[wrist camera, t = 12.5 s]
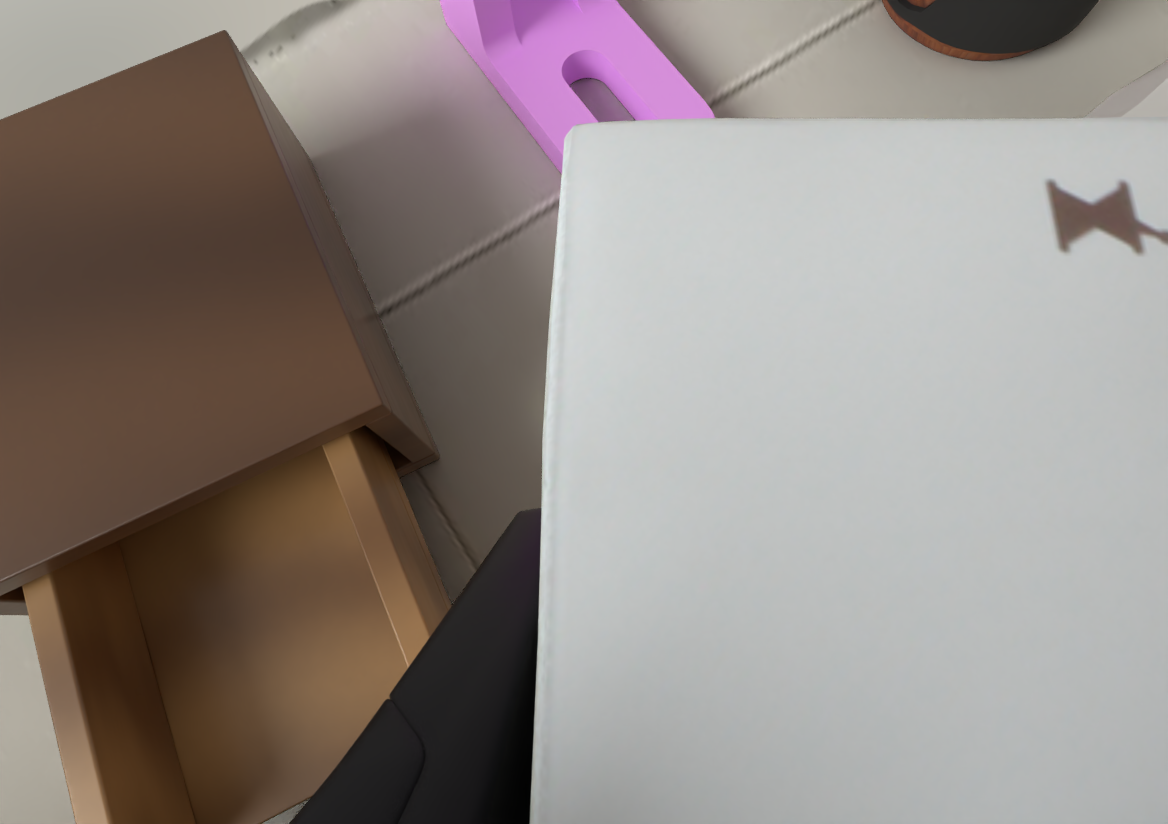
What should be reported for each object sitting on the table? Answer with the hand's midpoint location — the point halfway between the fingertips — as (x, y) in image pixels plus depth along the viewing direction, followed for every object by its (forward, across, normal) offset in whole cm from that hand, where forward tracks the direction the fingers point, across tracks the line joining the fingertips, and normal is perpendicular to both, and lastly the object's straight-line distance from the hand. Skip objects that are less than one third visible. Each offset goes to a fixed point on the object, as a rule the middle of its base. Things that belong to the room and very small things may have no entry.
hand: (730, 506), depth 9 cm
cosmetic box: (+4, 0, +6) cm, 7 cm away
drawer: (+7, +10, +11) cm, 16 cm away
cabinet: (+16, +14, +2) cm, 22 cm away
